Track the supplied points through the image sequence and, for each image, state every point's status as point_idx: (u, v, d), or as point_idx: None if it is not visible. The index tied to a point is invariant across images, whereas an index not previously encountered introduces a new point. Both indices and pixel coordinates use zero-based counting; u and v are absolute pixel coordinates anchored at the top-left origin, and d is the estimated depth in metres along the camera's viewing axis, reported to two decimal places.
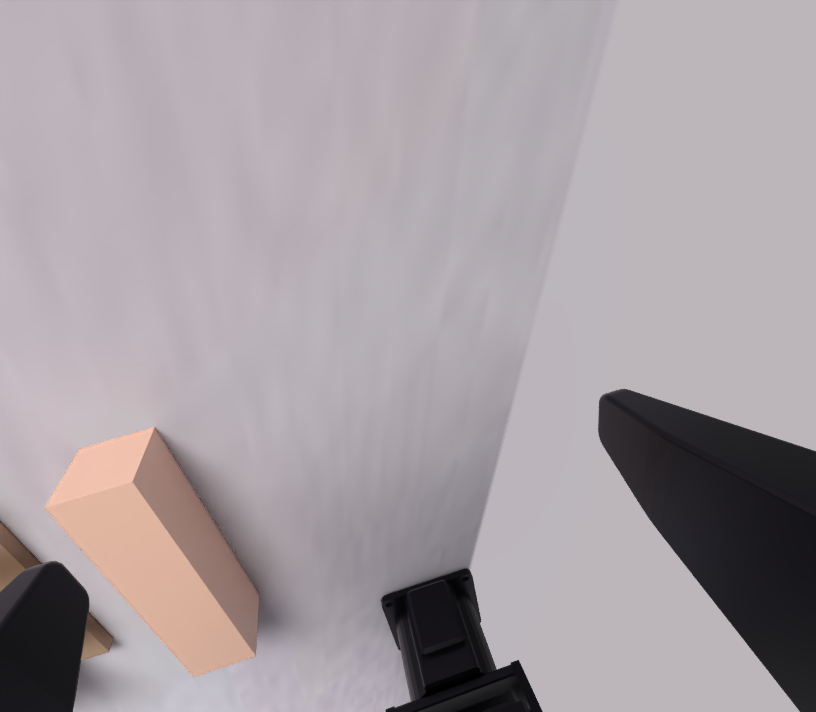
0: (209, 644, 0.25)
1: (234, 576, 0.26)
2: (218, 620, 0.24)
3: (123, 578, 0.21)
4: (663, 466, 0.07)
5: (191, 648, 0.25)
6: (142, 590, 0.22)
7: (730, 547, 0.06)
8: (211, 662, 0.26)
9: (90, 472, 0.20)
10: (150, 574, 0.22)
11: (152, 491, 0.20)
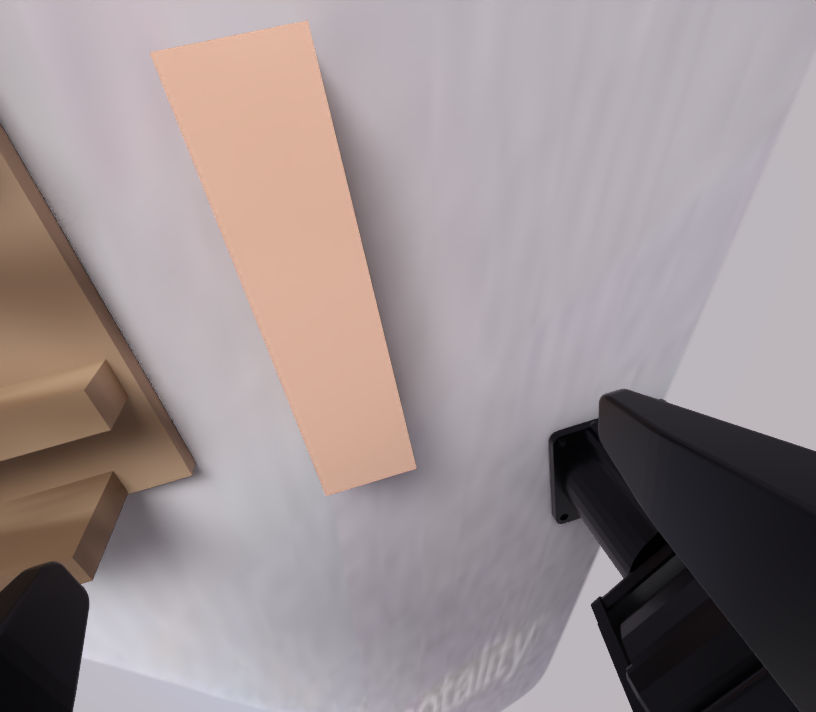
0: (360, 434, 0.16)
1: None
2: (381, 386, 0.16)
3: (258, 265, 0.13)
4: (663, 466, 0.07)
5: (333, 438, 0.16)
6: (283, 299, 0.13)
7: (730, 547, 0.06)
8: (355, 470, 0.17)
9: None
10: (300, 265, 0.13)
11: None
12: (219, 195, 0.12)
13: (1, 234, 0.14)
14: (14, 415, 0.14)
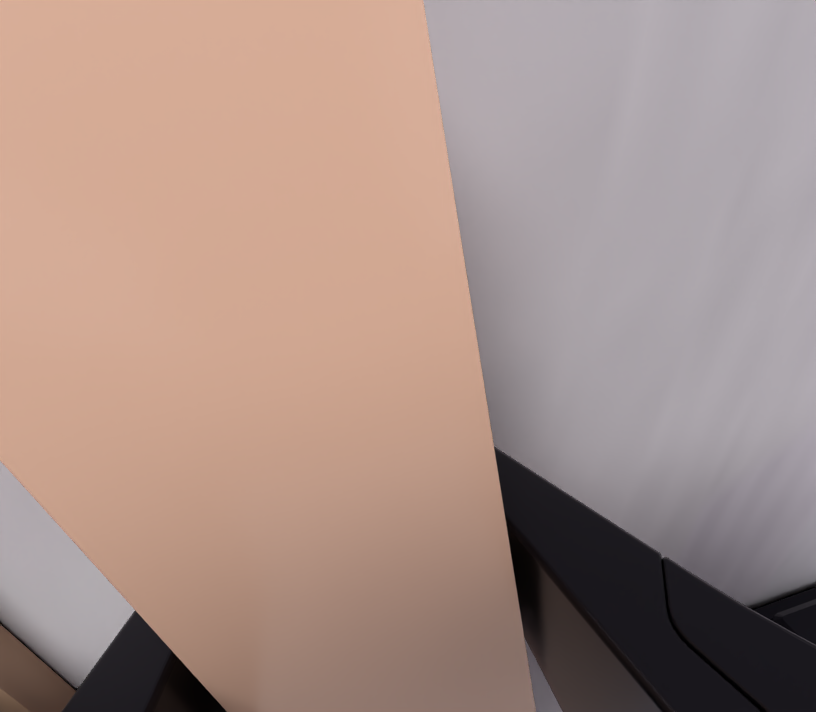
0: None
1: None
2: None
3: (207, 594, 0.04)
4: None
5: None
6: (283, 645, 0.05)
7: (535, 615, 0.06)
8: None
9: None
10: (328, 574, 0.05)
11: None
12: (44, 447, 0.03)
13: None
14: None
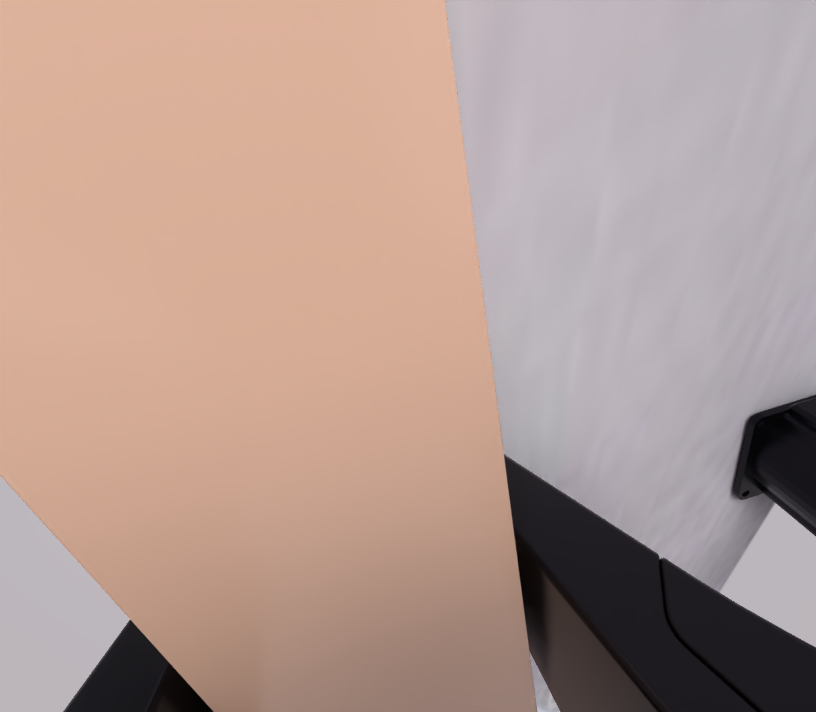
0: None
1: None
2: None
3: (205, 603, 0.04)
4: None
5: None
6: (283, 655, 0.05)
7: (533, 615, 0.06)
8: None
9: None
10: (331, 583, 0.04)
11: None
12: (37, 451, 0.03)
13: None
14: None
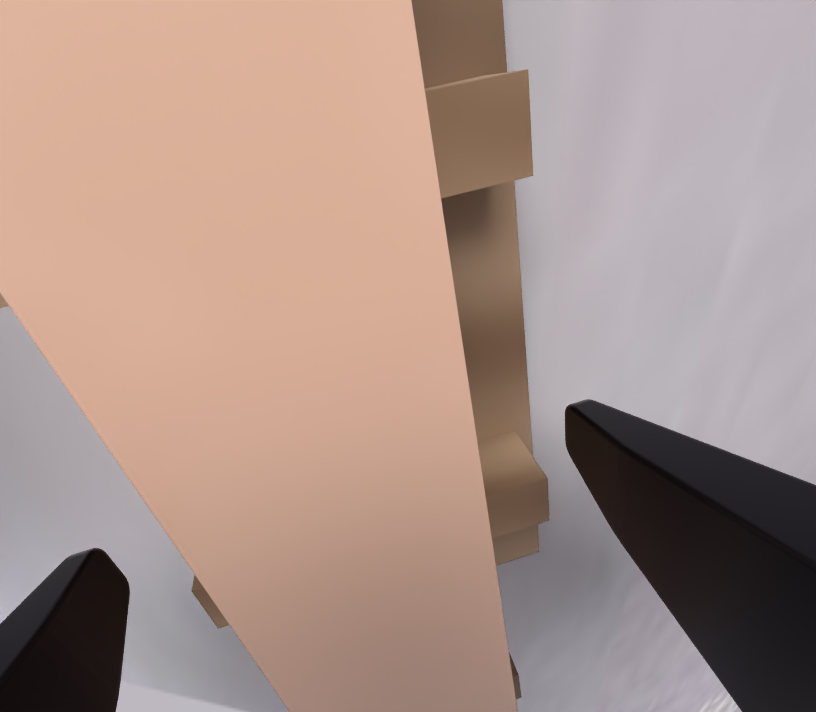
0: None
1: None
2: (481, 670, 0.08)
3: (223, 515, 0.05)
4: (622, 479, 0.07)
5: None
6: (285, 568, 0.06)
7: (685, 562, 0.06)
8: None
9: None
10: (327, 503, 0.05)
11: None
12: (98, 373, 0.04)
13: (474, 294, 0.11)
14: None
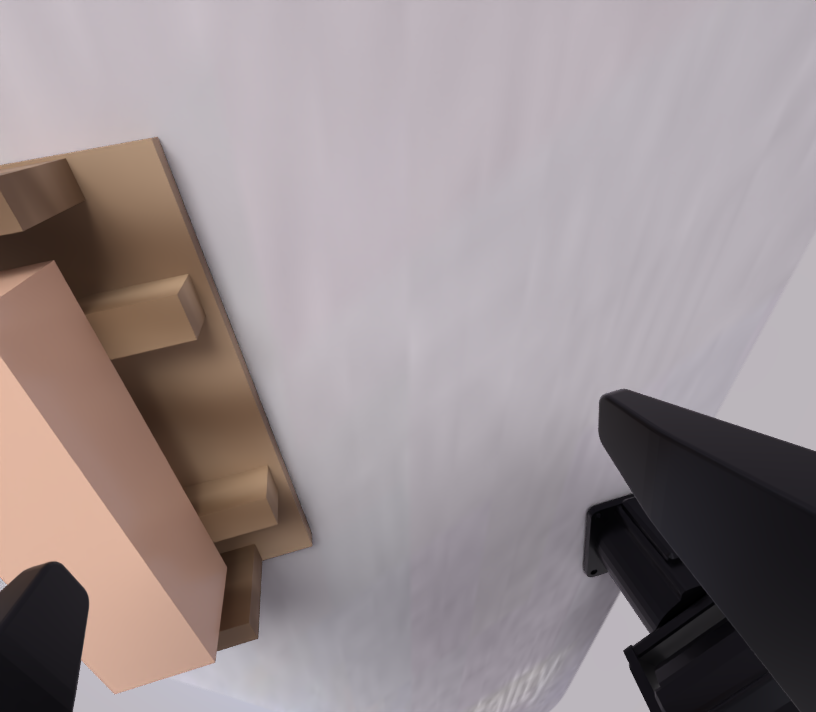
0: (139, 642, 0.15)
1: (186, 537, 0.17)
2: (153, 602, 0.15)
3: None
4: (663, 466, 0.07)
5: (109, 648, 0.15)
6: (14, 543, 0.13)
7: (730, 547, 0.06)
8: (143, 671, 0.16)
9: None
10: (25, 515, 0.12)
11: (25, 355, 0.11)
12: None
13: (215, 384, 0.18)
14: (214, 516, 0.19)
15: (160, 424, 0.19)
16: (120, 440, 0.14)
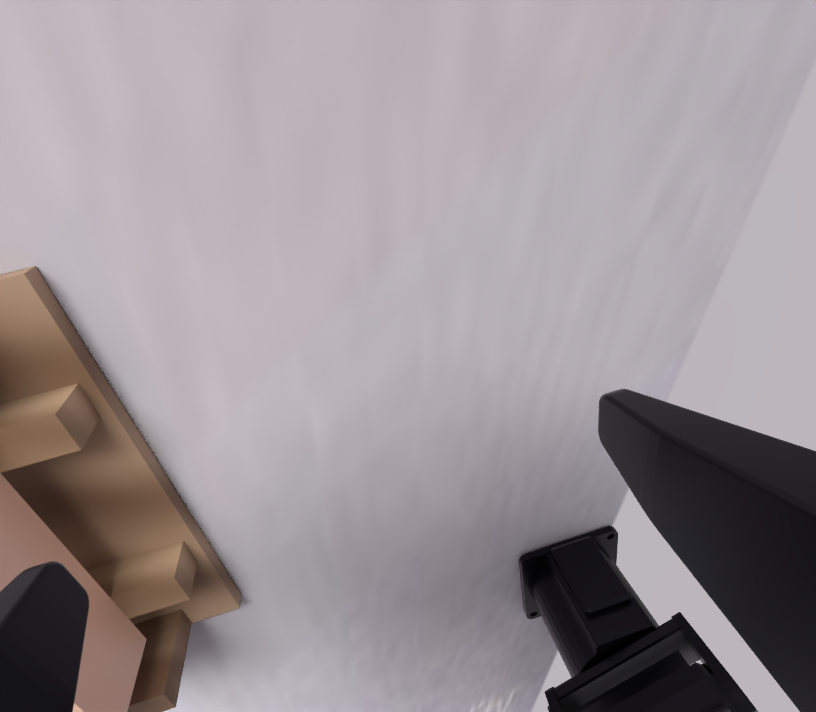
0: None
1: (91, 623, 0.18)
2: None
3: None
4: (663, 466, 0.07)
5: None
6: None
7: (730, 547, 0.06)
8: None
9: None
10: None
11: None
12: None
13: (119, 474, 0.19)
14: (125, 596, 0.20)
15: (72, 511, 0.20)
16: (7, 551, 0.15)
